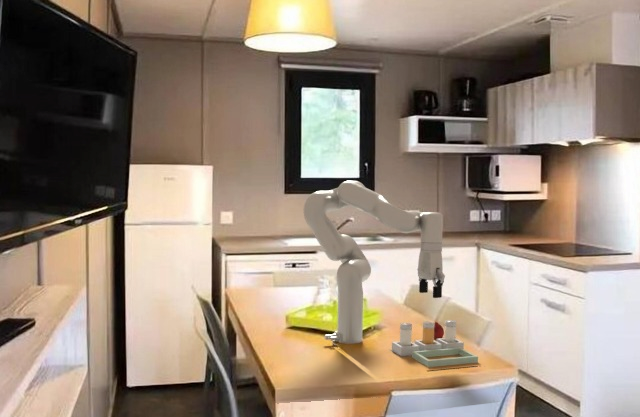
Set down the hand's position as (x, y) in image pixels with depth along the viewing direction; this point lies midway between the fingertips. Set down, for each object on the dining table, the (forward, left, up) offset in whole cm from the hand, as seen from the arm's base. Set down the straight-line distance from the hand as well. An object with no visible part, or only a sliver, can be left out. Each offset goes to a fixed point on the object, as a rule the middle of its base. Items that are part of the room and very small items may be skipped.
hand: (430, 295), depth 218 cm
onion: (+12, +15, -22) cm, 29 cm away
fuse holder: (0, 0, -22) cm, 22 cm away
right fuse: (+9, 0, -20) cm, 22 cm away
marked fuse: (0, 0, -20) cm, 20 cm away
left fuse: (-9, 0, -20) cm, 22 cm away
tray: (0, -11, -22) cm, 24 cm away
